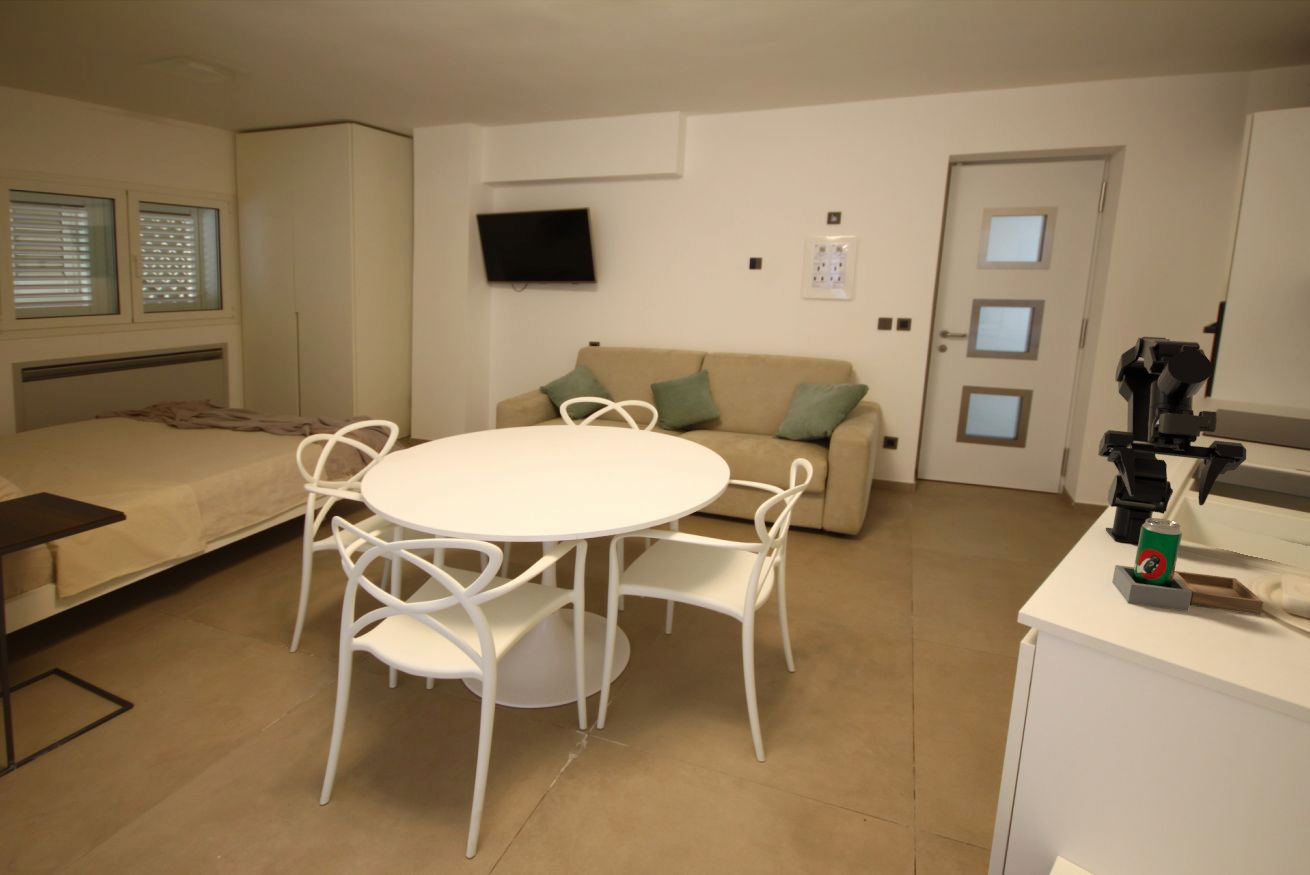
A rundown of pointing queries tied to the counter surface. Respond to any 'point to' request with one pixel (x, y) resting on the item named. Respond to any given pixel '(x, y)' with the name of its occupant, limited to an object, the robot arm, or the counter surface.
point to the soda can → (1157, 552)
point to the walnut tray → (1220, 593)
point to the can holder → (1151, 591)
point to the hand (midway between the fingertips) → (1166, 500)
